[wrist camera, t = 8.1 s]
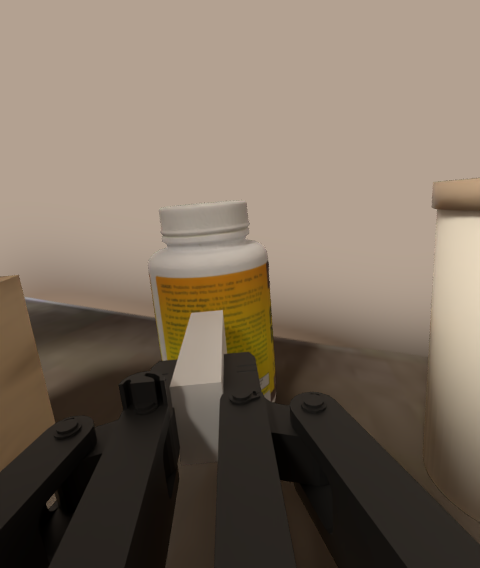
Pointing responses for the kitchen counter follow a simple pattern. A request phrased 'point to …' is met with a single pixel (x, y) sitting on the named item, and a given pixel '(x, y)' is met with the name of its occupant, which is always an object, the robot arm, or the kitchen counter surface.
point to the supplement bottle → (214, 281)
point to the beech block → (19, 376)
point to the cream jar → (455, 347)
